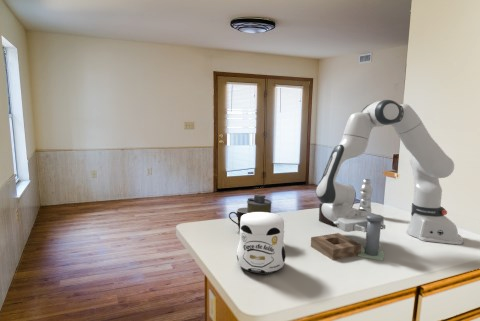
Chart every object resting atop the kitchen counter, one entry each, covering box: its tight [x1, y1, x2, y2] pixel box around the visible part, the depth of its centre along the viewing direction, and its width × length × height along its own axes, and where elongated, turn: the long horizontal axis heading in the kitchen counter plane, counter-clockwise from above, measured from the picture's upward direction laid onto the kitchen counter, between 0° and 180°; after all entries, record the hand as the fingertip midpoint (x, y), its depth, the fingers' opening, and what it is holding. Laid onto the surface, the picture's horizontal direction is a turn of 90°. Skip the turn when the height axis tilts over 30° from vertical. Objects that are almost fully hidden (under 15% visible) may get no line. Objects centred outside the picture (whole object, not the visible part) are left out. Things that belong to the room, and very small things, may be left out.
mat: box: [357, 247, 385, 262], centre depth 135 cm, size 9×9×1 cm
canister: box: [246, 193, 273, 213], centre depth 146 cm, size 11×10×20 cm
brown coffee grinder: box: [318, 202, 337, 227], centre depth 175 cm, size 16×11×18 cm
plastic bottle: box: [358, 178, 374, 213], centre depth 185 cm, size 6×7×20 cm
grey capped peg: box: [364, 213, 384, 256], centre depth 134 cm, size 6×6×15 cm
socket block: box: [310, 232, 363, 261], centre depth 138 cm, size 14×14×4 cm
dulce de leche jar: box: [236, 212, 286, 274], centre depth 121 cm, size 17×17×18 cm
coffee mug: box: [228, 207, 247, 233], centre depth 159 cm, size 12×9×10 cm
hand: (375, 228), depth 132 cm, fingers open, 8 cm apart
